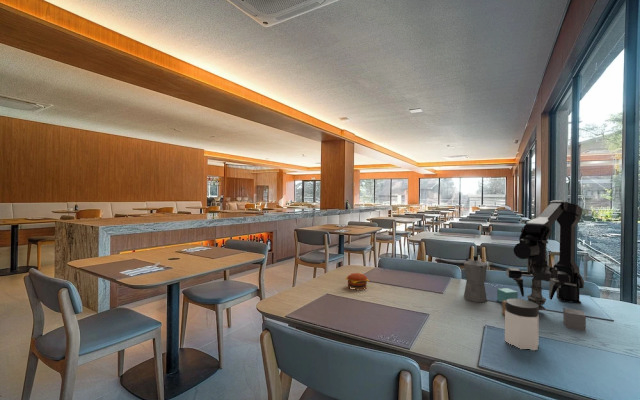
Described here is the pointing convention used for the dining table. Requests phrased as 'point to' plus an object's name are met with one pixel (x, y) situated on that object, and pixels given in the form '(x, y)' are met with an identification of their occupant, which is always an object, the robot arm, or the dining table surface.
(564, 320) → the grey cube
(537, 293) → the salt shaker
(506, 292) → the teal block
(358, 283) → the hamburger
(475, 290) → the coffeepot
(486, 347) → the dining table surface
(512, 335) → the jar
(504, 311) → the walnut block
